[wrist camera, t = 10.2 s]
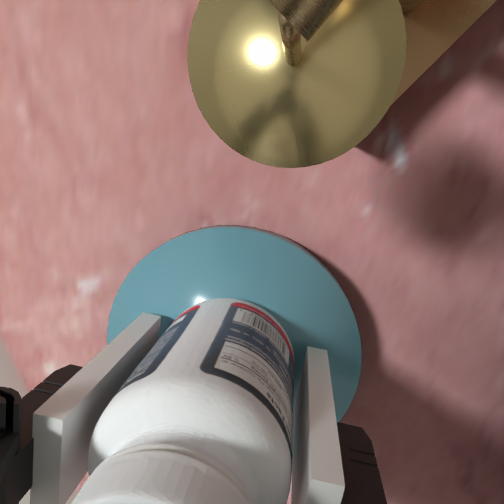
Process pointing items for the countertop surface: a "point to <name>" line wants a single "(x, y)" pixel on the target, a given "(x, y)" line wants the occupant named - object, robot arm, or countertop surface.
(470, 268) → the countertop surface
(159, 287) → the dish
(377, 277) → the countertop surface
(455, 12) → the balance
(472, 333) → the countertop surface
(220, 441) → the pill bottle
